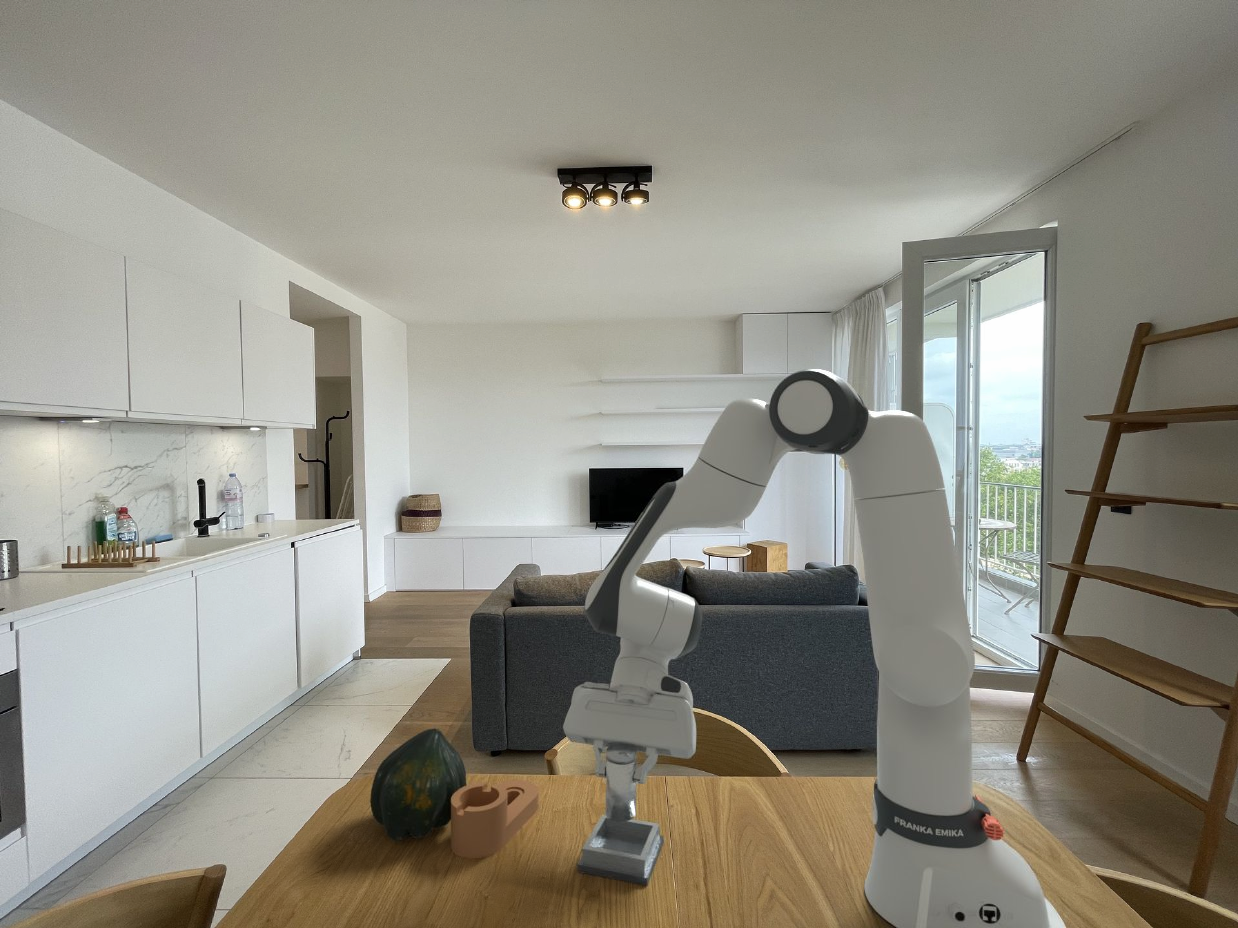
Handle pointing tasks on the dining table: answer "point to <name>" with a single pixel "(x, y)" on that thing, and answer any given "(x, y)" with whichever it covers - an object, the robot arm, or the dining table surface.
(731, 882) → the dining table surface
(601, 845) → the square open tray
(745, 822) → the dining table surface
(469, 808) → the bracket
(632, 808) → the upright metal cylinder
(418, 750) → the squash
